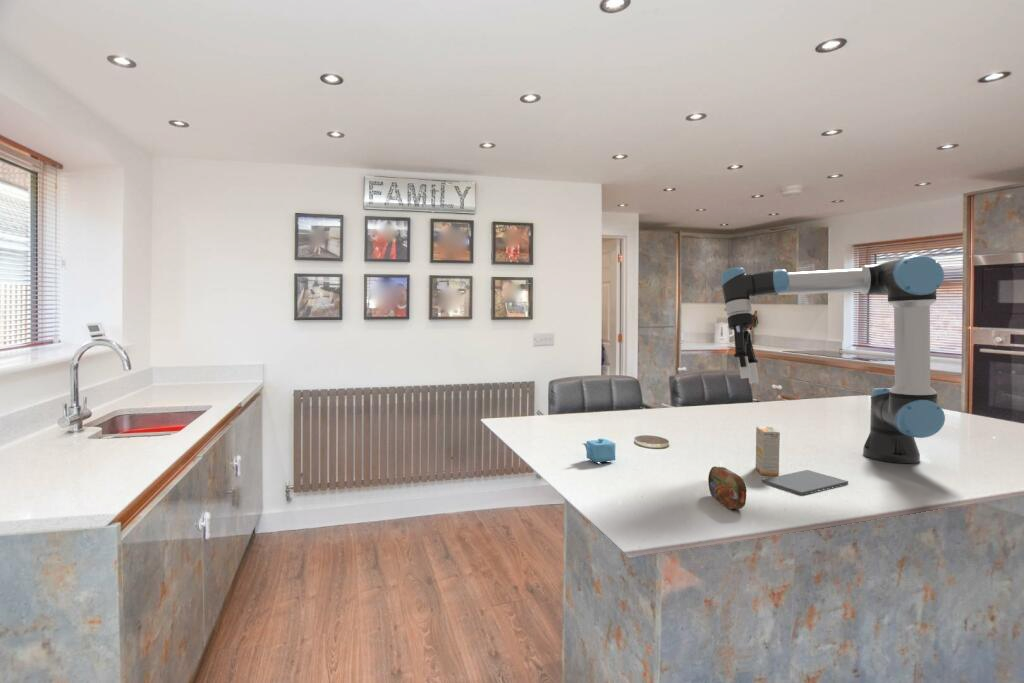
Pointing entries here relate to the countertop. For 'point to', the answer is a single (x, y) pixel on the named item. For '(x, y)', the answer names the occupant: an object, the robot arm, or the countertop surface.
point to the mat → (804, 482)
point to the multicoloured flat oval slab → (727, 487)
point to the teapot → (600, 450)
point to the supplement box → (767, 450)
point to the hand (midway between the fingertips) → (750, 380)
